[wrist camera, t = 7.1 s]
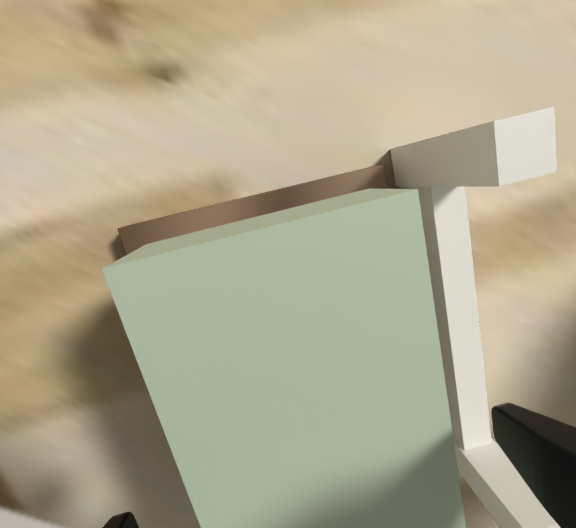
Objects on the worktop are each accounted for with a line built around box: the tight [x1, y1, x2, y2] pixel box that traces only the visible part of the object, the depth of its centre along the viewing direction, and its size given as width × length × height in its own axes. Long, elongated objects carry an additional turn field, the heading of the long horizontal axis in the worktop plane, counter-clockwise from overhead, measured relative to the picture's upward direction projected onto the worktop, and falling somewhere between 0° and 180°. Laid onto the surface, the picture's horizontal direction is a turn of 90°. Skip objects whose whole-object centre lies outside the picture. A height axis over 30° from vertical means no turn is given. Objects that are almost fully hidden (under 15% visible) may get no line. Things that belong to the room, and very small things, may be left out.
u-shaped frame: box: [390, 107, 560, 528], centre depth 13 cm, size 2×14×6 cm, turn 13°
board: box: [102, 189, 466, 528], centre depth 10 cm, size 12×6×3 cm, turn 13°
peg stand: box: [118, 165, 388, 255], centre depth 13 cm, size 10×13×4 cm
